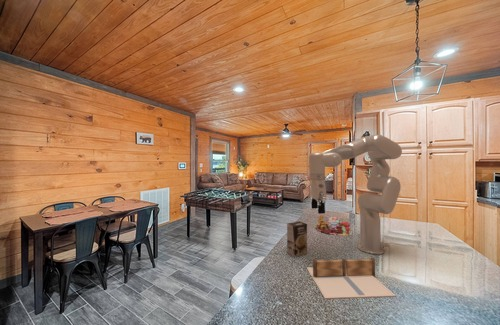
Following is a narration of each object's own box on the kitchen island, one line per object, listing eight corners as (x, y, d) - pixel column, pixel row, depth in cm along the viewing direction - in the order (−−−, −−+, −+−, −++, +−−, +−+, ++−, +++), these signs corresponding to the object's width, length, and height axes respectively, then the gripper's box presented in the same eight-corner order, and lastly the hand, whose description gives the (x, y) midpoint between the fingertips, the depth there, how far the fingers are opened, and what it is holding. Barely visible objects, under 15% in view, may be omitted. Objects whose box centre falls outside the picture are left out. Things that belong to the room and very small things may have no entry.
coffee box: (294, 257, 97) (294, 226, 98) (286, 252, 103) (286, 223, 103) (307, 253, 102) (307, 223, 102) (299, 249, 107) (299, 220, 108)
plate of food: (316, 234, 131) (316, 220, 131) (314, 223, 153) (314, 212, 153) (356, 237, 124) (356, 223, 124) (348, 226, 146) (348, 214, 146)
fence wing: (347, 276, 80) (347, 260, 80) (346, 274, 82) (345, 258, 82) (375, 275, 81) (375, 259, 81) (373, 273, 82) (373, 257, 82)
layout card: (361, 266, 88) (361, 265, 88) (395, 296, 68) (395, 295, 68) (306, 268, 87) (306, 267, 87) (325, 299, 67) (324, 297, 67)
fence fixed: (344, 274, 82) (344, 258, 82) (346, 276, 80) (346, 260, 80) (312, 275, 81) (312, 259, 81) (313, 277, 80) (313, 261, 80)
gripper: (331, 178, 88) (332, 215, 87) (318, 176, 105) (319, 206, 105) (315, 178, 88) (316, 215, 87) (305, 176, 105) (305, 207, 105)
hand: (317, 210), depth 96 cm, fingers open, 9 cm apart
